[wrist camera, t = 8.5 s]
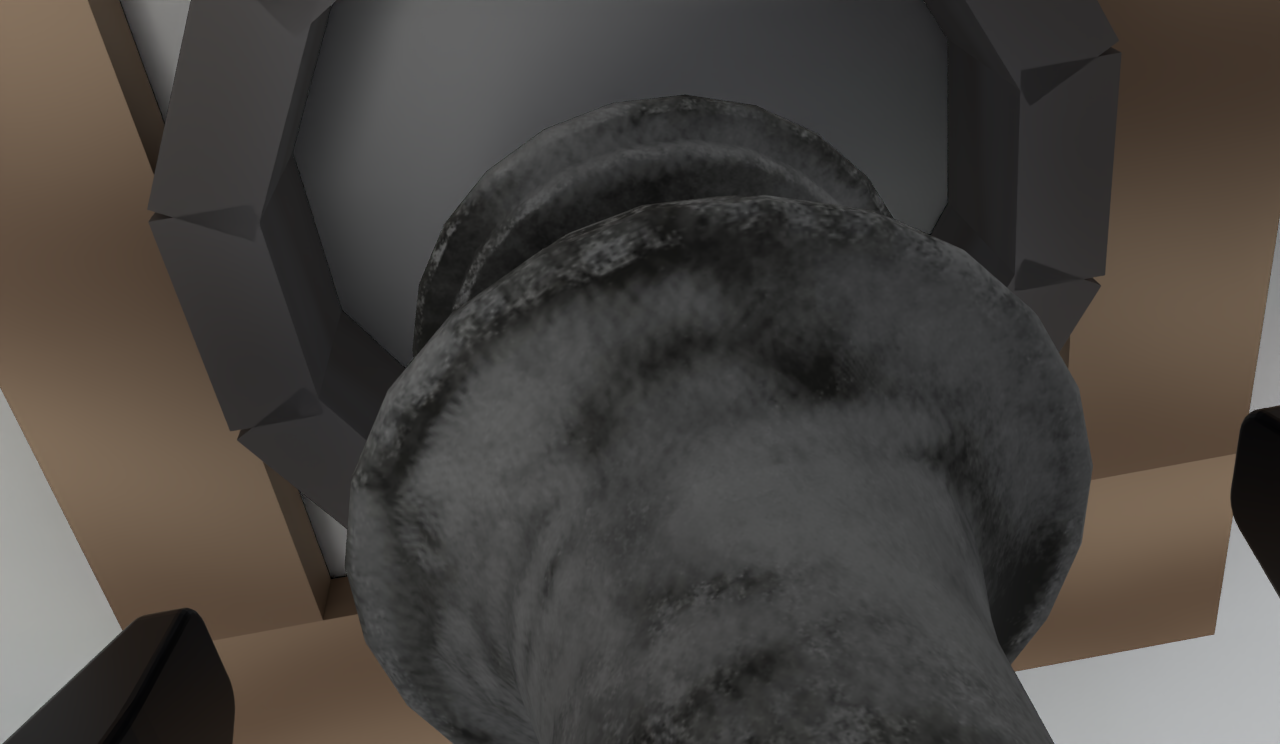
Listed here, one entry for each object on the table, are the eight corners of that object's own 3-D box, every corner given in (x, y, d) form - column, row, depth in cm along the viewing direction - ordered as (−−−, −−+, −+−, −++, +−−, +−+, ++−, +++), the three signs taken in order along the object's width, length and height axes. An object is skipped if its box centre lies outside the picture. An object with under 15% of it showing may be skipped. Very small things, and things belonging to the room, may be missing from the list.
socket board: (1185, 597, 21) (1262, 696, 19) (229, 774, 21) (198, 895, 19) (1393, -936, 11) (1609, -1094, 9) (-455, -650, 11) (-695, -744, 9)
